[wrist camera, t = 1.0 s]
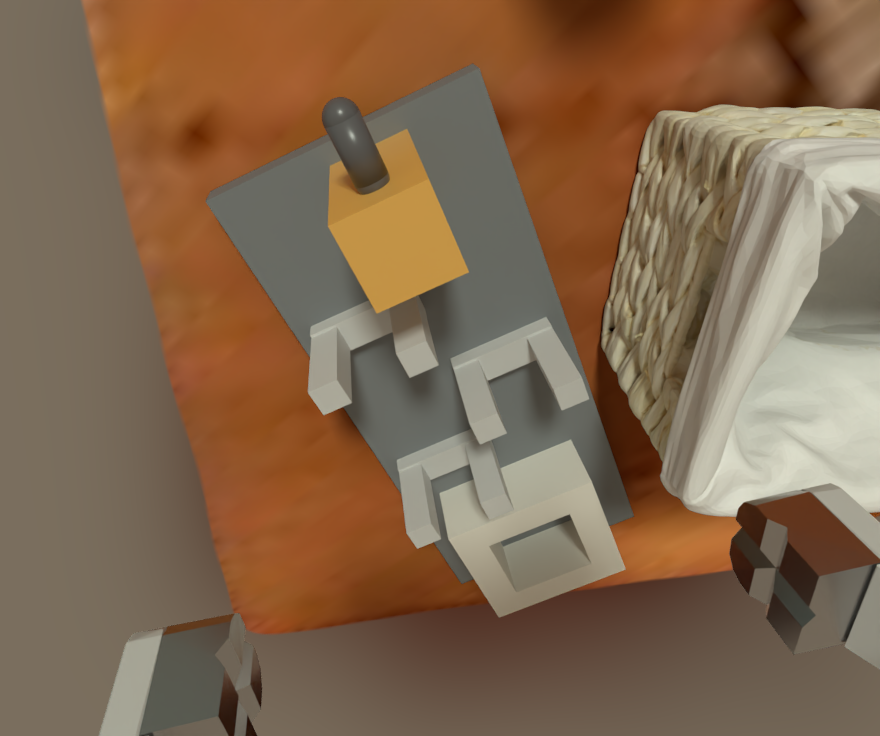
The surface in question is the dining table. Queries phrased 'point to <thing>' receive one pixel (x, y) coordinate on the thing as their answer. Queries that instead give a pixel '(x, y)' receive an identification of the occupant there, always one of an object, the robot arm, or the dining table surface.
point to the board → (449, 355)
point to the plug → (386, 212)
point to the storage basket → (753, 302)
